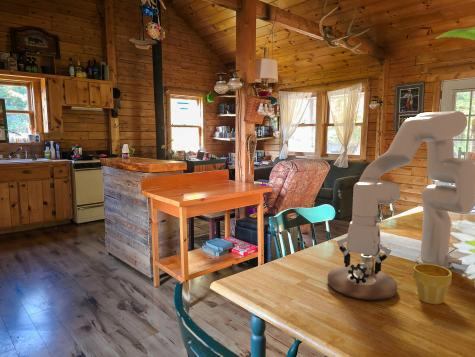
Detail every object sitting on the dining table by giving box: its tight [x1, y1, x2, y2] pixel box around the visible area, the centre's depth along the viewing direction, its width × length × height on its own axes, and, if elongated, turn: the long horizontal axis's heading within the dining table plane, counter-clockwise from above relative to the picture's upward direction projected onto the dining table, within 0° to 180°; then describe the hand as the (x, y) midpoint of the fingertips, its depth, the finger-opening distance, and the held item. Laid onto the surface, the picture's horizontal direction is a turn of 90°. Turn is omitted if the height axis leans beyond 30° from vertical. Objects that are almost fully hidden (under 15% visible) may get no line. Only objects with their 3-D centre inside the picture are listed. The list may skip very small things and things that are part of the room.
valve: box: [348, 254, 372, 284], centre depth 114 cm, size 7×7×12 cm
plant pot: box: [412, 263, 453, 305], centre depth 104 cm, size 10×10×10 cm
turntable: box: [327, 256, 398, 301], centre depth 112 cm, size 22×22×7 cm
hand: (361, 269), depth 112 cm, fingers open, 9 cm apart
